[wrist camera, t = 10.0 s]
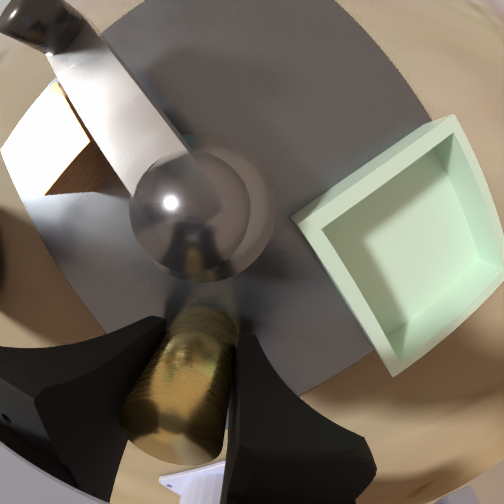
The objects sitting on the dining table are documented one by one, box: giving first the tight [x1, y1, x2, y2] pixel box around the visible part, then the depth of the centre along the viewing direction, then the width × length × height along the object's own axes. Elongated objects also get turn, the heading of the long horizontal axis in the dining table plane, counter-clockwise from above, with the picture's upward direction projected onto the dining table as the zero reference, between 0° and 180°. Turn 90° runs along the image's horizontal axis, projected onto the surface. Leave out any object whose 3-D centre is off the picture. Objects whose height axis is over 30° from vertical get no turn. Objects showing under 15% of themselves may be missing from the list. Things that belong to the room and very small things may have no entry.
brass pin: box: [119, 306, 238, 465], centre depth 9 cm, size 3×3×6 cm
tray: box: [290, 114, 504, 377], centre depth 9 cm, size 7×7×2 cm
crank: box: [0, 0, 251, 273], centre depth 5 cm, size 10×3×4 cm, turn 36°
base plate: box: [1, 0, 432, 429], centre depth 9 cm, size 19×17×4 cm
